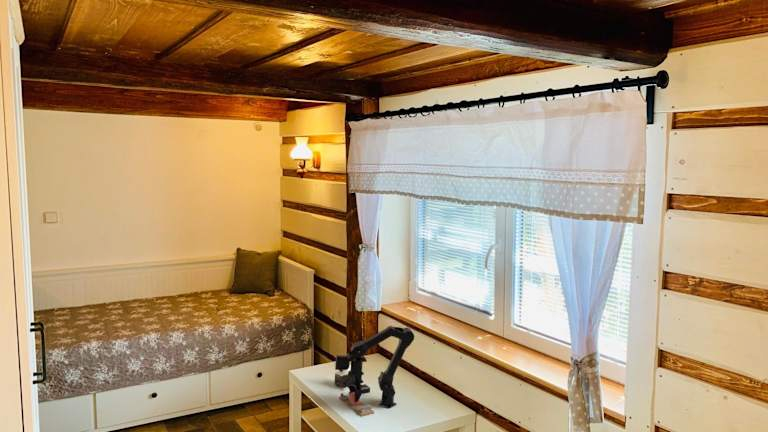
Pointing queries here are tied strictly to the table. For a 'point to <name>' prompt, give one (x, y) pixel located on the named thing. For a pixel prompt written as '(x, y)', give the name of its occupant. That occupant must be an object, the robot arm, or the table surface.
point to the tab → (352, 398)
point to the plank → (357, 406)
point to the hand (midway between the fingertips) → (354, 400)
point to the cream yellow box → (339, 375)
